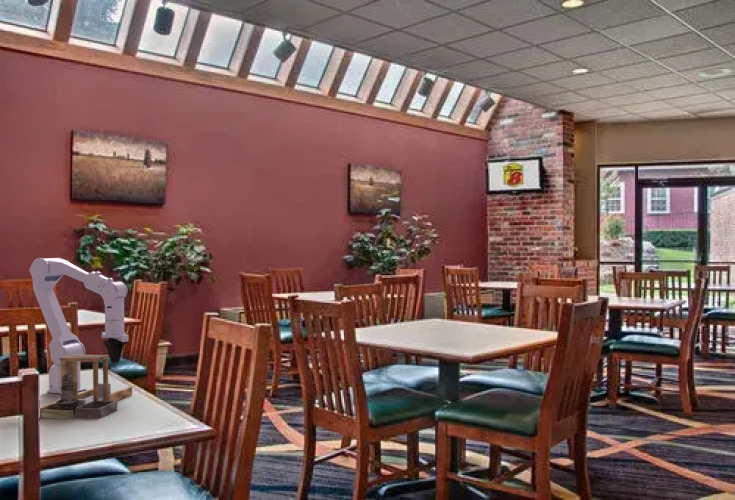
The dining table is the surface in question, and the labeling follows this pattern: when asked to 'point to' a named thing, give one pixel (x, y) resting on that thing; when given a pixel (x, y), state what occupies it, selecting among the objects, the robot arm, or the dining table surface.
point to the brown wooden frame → (94, 407)
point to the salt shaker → (67, 394)
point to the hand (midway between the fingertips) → (115, 362)
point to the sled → (89, 399)
